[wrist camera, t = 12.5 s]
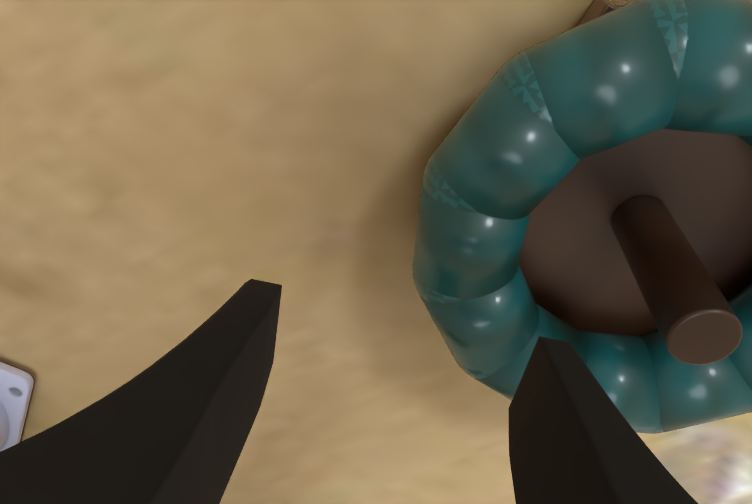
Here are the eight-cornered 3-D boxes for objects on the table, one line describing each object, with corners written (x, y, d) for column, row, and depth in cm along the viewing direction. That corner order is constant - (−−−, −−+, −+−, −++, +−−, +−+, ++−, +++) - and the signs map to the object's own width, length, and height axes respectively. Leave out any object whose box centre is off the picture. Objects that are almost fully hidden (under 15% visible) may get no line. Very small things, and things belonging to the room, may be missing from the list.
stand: (652, 350, 22) (721, 515, 17) (433, 247, 21) (428, 389, 15) (860, 145, 18) (1054, 276, 12) (597, -7, 16) (678, 63, 11)
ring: (632, 434, 23) (655, 505, 20) (338, 257, 20) (323, 314, 17) (996, 179, 17) (1094, 235, 14) (644, -137, 14) (689, -137, 11)
